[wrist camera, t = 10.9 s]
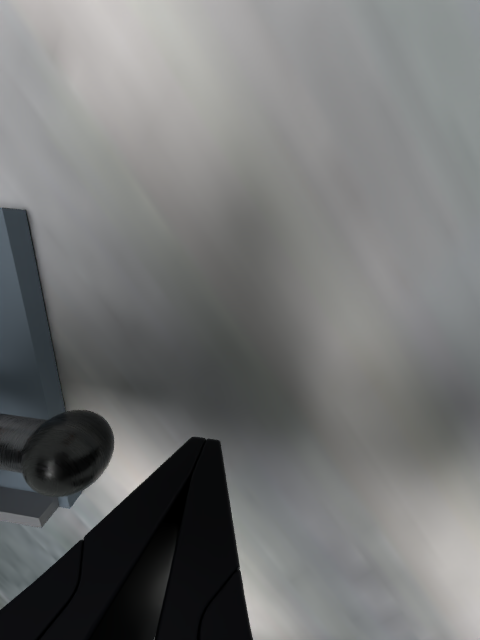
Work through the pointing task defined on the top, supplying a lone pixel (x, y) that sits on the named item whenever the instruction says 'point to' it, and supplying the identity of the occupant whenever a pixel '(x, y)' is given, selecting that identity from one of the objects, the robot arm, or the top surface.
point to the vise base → (25, 363)
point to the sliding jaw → (56, 450)
